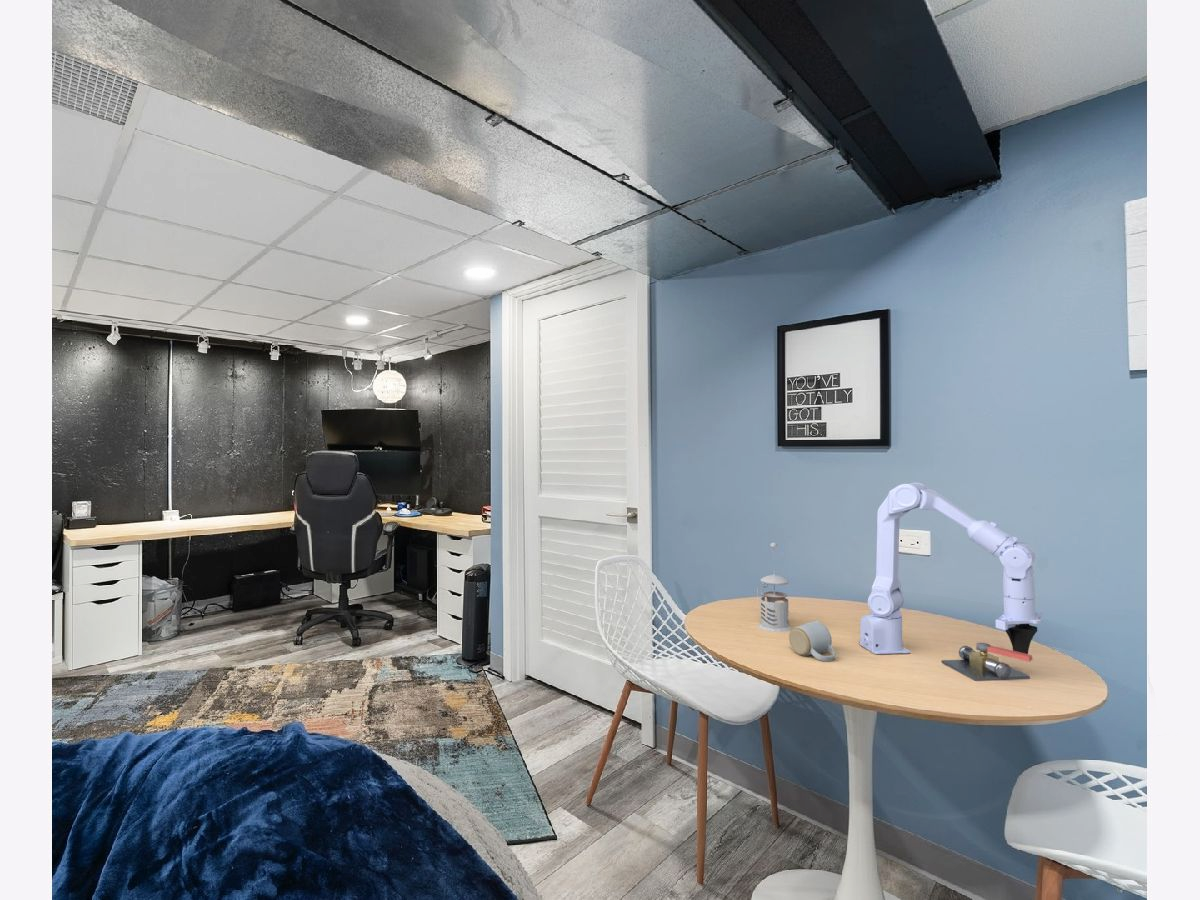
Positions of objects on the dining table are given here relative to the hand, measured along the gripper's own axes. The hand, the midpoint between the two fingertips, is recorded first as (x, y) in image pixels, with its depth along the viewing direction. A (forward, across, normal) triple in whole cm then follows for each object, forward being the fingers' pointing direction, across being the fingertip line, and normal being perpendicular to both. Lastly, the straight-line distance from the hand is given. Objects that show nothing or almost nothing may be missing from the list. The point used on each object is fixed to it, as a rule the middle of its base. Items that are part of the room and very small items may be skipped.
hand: (1020, 657), depth 126 cm
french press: (+4, -22, +55) cm, 60 cm away
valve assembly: (+5, -3, +6) cm, 8 cm away
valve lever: (0, -2, +3) cm, 3 cm away
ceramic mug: (+5, -30, +32) cm, 44 cm away
